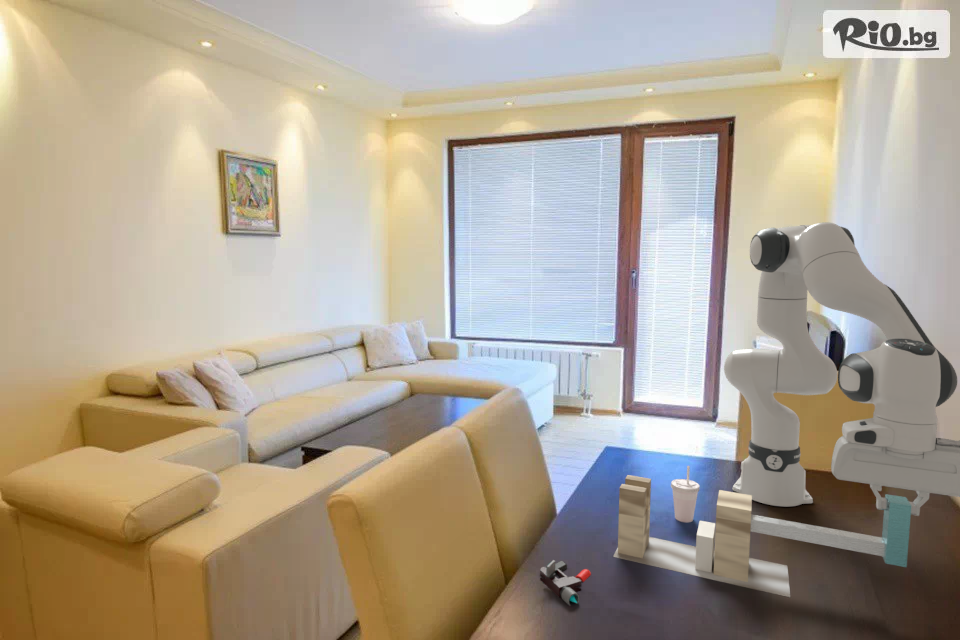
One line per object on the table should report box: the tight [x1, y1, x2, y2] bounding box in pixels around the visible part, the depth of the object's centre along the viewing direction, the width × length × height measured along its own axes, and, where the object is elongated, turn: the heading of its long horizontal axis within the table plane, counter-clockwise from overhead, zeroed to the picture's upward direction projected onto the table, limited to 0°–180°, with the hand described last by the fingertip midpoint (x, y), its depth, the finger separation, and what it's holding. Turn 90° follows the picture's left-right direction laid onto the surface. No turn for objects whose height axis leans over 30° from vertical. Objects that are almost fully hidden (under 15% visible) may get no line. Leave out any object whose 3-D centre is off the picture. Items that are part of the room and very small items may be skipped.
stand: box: [613, 474, 791, 598], centre depth 113 cm, size 12×32×15 cm, turn 64°
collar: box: [695, 520, 716, 573], centre depth 113 cm, size 7×3×7 cm, turn 154°
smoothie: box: [670, 465, 701, 523], centre depth 133 cm, size 6×6×14 cm
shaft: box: [750, 493, 912, 568], centre depth 104 cm, size 4×27×11 cm, turn 64°
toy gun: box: [539, 559, 592, 607], centre depth 107 cm, size 10×12×5 cm
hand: (897, 511), depth 98 cm, fingers closed on shaft, 3 cm apart
